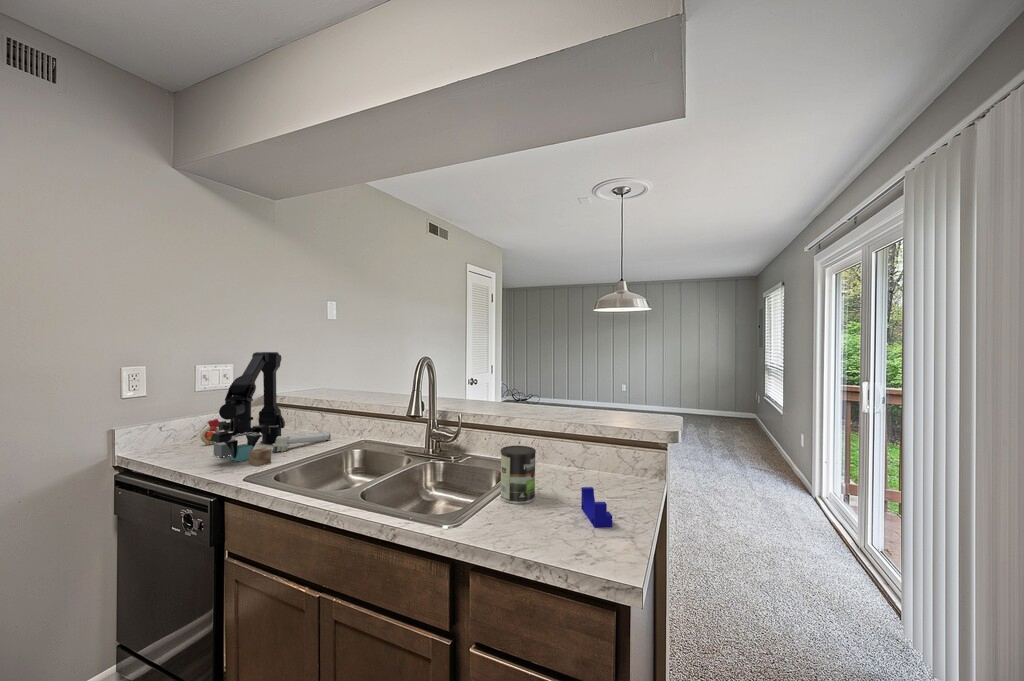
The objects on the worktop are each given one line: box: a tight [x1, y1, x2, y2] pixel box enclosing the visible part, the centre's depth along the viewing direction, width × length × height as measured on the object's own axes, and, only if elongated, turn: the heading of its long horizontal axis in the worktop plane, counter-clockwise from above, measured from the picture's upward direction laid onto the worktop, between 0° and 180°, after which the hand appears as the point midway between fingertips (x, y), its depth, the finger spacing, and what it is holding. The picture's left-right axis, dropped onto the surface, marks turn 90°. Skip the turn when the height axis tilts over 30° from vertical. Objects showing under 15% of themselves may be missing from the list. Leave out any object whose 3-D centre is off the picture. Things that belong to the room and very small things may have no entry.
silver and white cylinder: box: [271, 431, 332, 453], centre depth 178 cm, size 5×7×25 cm
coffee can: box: [500, 445, 537, 505], centre depth 123 cm, size 10×10×14 cm
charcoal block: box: [213, 442, 231, 457], centre depth 162 cm, size 5×5×5 cm
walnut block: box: [248, 447, 272, 467], centre depth 152 cm, size 5×5×5 cm
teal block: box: [230, 443, 254, 462], centre depth 157 cm, size 5×5×5 cm
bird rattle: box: [200, 418, 221, 446], centre depth 179 cm, size 6×11×9 cm
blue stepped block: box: [580, 486, 613, 529], centre depth 109 cm, size 12×4×6 cm, turn 6°
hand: (241, 456), depth 157 cm, fingers closed on teal block, 5 cm apart
